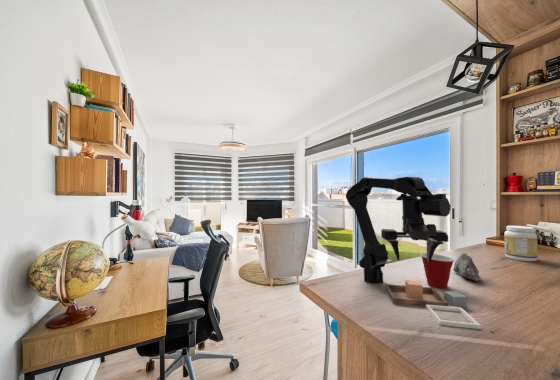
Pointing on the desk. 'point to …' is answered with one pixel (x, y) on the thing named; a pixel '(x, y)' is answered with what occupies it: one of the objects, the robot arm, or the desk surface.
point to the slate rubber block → (455, 299)
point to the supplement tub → (521, 243)
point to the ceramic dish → (453, 323)
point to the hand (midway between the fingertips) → (413, 260)
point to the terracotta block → (414, 289)
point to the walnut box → (429, 297)
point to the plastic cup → (437, 270)
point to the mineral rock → (466, 267)
